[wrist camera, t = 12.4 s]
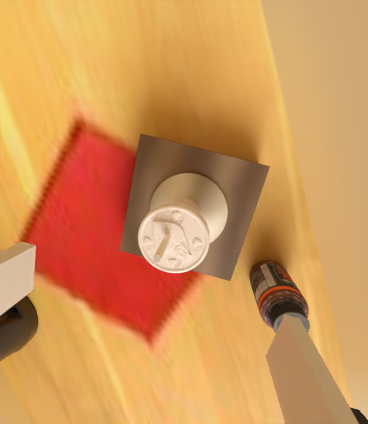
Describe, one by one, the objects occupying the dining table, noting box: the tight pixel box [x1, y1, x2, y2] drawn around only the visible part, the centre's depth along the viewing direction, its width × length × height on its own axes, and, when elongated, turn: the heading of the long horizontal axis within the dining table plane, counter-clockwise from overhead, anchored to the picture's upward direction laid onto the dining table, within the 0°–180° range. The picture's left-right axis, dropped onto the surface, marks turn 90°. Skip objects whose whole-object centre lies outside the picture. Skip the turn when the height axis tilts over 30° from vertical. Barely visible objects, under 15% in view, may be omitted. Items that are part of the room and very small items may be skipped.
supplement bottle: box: [250, 261, 310, 333], centre depth 31 cm, size 6×6×11 cm
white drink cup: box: [138, 199, 210, 273], centre depth 22 cm, size 6×6×14 cm
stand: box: [120, 134, 270, 281], centre depth 31 cm, size 16×16×6 cm
